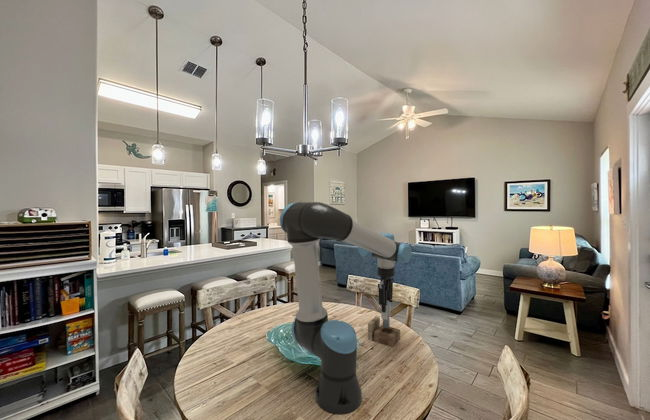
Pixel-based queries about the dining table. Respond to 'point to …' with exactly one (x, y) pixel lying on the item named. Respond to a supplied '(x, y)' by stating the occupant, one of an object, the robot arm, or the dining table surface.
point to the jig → (373, 327)
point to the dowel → (386, 322)
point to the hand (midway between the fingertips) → (385, 317)
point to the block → (387, 336)
